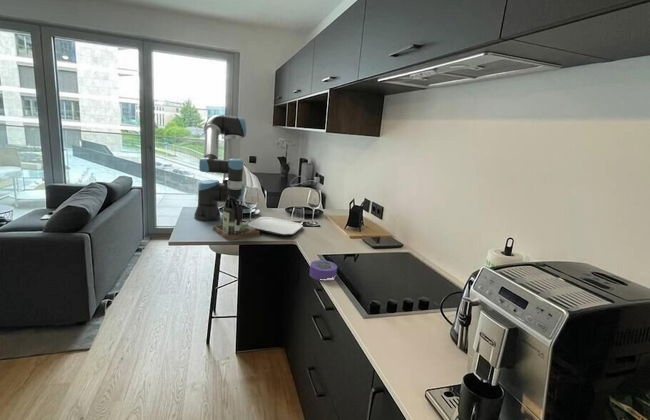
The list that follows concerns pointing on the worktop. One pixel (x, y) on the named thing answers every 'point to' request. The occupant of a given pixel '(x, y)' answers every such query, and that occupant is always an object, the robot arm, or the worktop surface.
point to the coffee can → (230, 221)
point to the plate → (275, 226)
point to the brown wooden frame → (234, 236)
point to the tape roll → (322, 269)
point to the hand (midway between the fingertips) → (232, 227)
